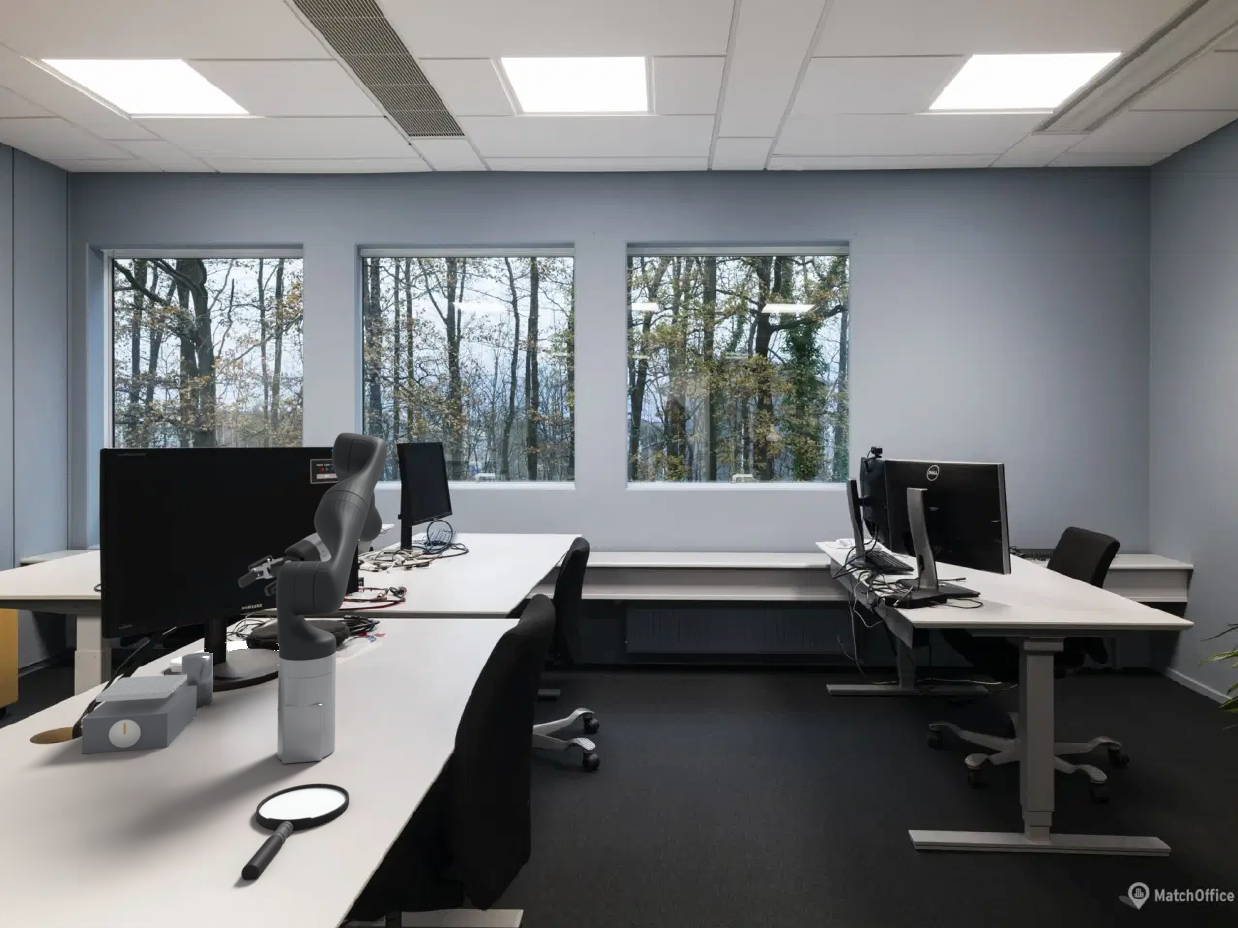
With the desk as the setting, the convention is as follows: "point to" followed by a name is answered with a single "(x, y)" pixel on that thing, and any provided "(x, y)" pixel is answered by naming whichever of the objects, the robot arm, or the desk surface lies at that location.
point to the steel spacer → (199, 676)
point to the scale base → (138, 722)
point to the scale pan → (142, 688)
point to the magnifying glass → (293, 818)
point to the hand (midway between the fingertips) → (252, 588)
